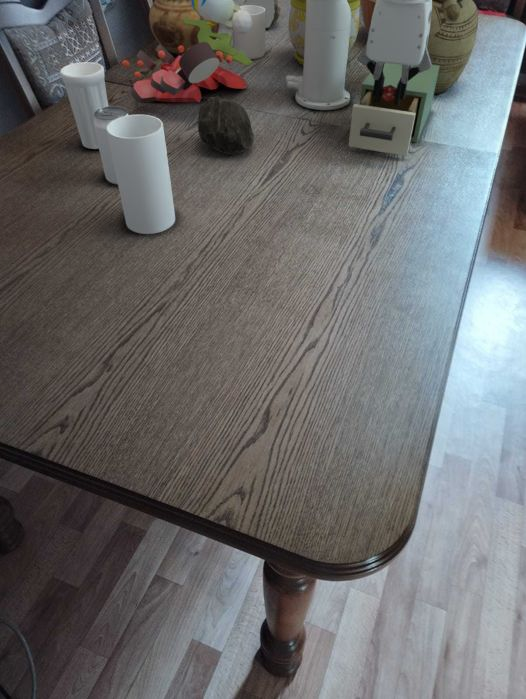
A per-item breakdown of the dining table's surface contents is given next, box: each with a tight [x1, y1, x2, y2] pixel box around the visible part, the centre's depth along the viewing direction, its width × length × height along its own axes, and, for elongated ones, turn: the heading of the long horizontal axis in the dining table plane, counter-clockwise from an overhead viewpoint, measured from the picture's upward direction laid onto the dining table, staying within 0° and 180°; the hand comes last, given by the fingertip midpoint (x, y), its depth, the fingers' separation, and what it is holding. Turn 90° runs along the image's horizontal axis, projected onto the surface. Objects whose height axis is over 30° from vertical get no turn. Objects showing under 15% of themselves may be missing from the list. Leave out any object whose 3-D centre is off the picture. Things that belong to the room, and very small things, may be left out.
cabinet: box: [359, 63, 440, 143], centre depth 115 cm, size 16×13×10 cm
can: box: [94, 105, 129, 186], centre depth 98 cm, size 6×6×12 cm
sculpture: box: [241, 0, 281, 30], centre depth 168 cm, size 11×18×12 cm
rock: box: [197, 96, 255, 155], centre depth 108 cm, size 10×11×10 cm
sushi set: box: [121, 0, 254, 104], centre depth 124 cm, size 29×30×24 cm
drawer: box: [348, 90, 421, 157], centre depth 108 cm, size 19×12×8 cm, turn 159°
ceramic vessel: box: [421, 0, 479, 95], centre depth 123 cm, size 19×21×30 cm
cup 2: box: [107, 114, 176, 235], centre depth 86 cm, size 8×8×16 cm
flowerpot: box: [288, 0, 361, 66], centre depth 140 cm, size 18×18×16 cm
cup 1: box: [59, 61, 109, 150], centre depth 107 cm, size 8×8×14 cm
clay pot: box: [148, 0, 221, 56], centre depth 146 cm, size 19×19×20 cm
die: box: [381, 85, 397, 101], centre depth 103 cm, size 3×3×3 cm
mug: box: [232, 5, 266, 60], centre depth 146 cm, size 9×12×11 cm
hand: (387, 100), depth 104 cm, fingers closed on die, 3 cm apart
